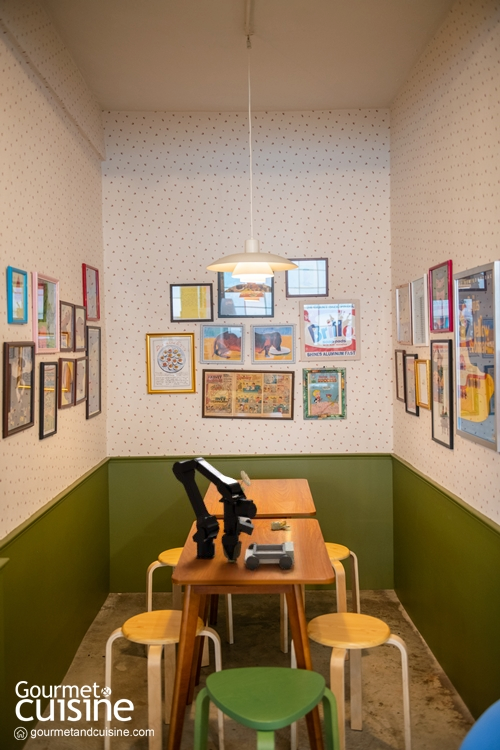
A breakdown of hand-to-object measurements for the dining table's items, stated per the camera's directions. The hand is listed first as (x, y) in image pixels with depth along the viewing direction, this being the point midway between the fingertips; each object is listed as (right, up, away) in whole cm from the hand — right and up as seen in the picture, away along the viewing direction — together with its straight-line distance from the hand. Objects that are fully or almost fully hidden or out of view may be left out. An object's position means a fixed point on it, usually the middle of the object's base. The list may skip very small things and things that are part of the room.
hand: (232, 556), depth 249 cm
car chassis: (+14, -2, -1) cm, 14 cm away
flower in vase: (+2, -1, +54) cm, 54 cm away
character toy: (+21, -1, +47) cm, 51 cm away
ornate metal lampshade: (0, -3, 0) cm, 3 cm away
